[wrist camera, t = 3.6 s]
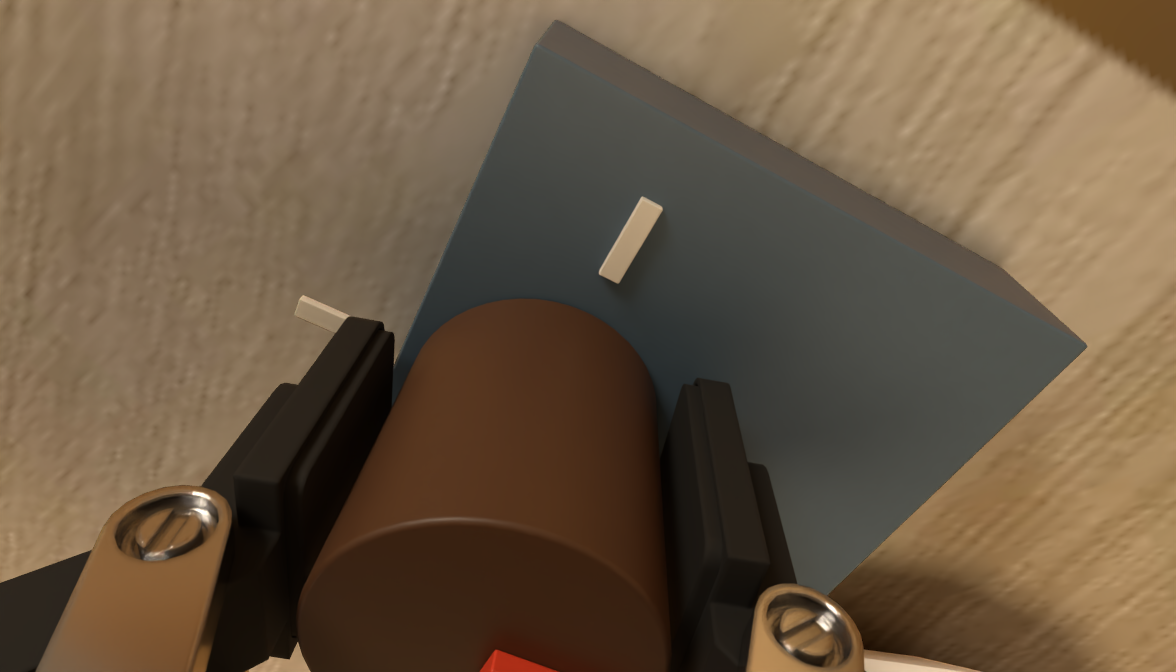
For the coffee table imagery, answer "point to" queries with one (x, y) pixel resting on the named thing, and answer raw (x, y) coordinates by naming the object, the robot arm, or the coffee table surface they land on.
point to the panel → (746, 293)
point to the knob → (502, 510)
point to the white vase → (906, 663)
